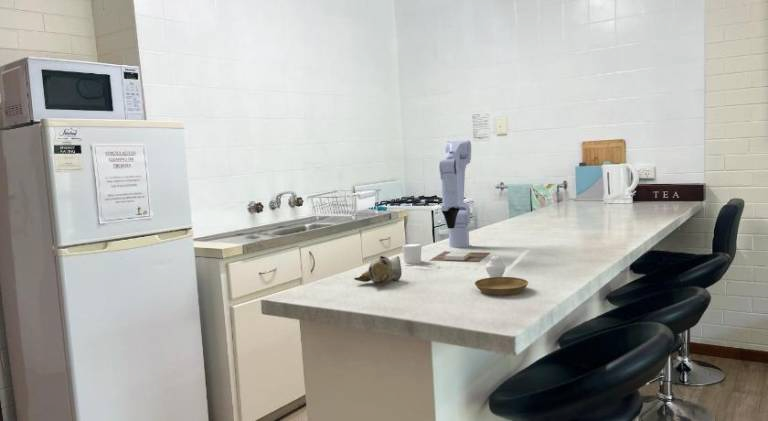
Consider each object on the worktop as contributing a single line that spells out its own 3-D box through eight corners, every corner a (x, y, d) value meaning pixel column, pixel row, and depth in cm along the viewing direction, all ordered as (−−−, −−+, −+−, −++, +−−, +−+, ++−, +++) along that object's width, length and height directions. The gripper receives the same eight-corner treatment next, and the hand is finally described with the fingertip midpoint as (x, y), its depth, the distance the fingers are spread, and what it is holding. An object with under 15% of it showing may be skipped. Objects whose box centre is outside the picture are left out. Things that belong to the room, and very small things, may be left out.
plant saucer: (475, 298, 161) (475, 289, 160) (474, 285, 175) (474, 277, 175) (531, 297, 159) (531, 288, 158) (525, 284, 173) (525, 276, 173)
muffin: (506, 280, 179) (505, 257, 178) (485, 280, 180) (484, 257, 179) (506, 275, 185) (505, 253, 184) (486, 275, 186) (485, 253, 185)
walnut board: (444, 254, 226) (444, 251, 226) (491, 255, 219) (491, 252, 219) (428, 263, 210) (428, 260, 210) (478, 265, 203) (478, 262, 203)
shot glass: (422, 262, 212) (421, 243, 212) (422, 266, 206) (421, 246, 205) (403, 262, 213) (402, 243, 212) (402, 266, 206) (401, 246, 206)
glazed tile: (452, 251, 217) (444, 255, 209) (470, 251, 214) (463, 256, 206) (452, 255, 217) (444, 260, 209) (470, 256, 214) (464, 261, 206)
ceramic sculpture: (409, 252, 183) (373, 263, 174) (412, 280, 185) (376, 292, 175) (387, 249, 191) (350, 260, 182) (389, 276, 193) (353, 287, 183)
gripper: (445, 190, 228) (446, 225, 229) (433, 193, 215) (434, 230, 216) (463, 190, 225) (464, 225, 226) (452, 193, 212) (453, 231, 213)
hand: (451, 228), depth 221 cm, fingers closed
